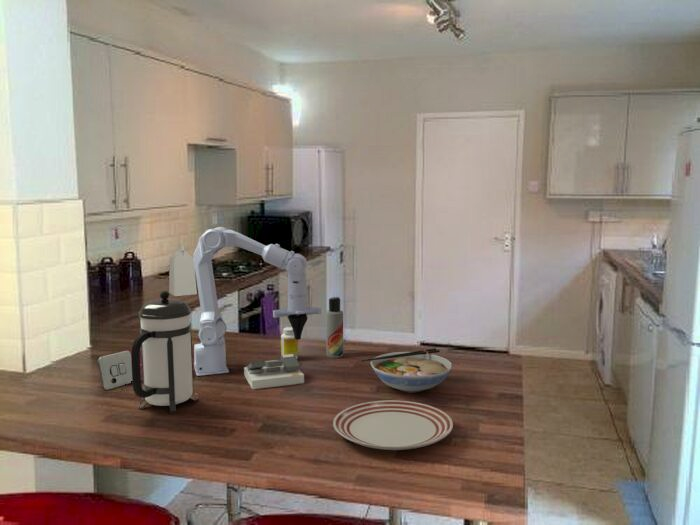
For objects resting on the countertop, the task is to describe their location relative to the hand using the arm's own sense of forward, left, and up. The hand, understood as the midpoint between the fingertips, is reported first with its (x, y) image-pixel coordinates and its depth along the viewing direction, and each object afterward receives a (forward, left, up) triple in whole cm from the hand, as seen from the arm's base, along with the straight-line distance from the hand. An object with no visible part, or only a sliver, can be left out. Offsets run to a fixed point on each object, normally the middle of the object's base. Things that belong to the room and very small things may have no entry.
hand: (297, 338), depth 175 cm
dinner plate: (+9, -50, -11) cm, 52 cm away
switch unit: (-9, -4, -10) cm, 14 cm away
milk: (-23, +148, -11) cm, 150 cm away
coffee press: (-39, -15, -11) cm, 43 cm away
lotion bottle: (+16, +12, -11) cm, 23 cm away
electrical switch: (-52, +7, -11) cm, 54 cm away
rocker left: (-14, -4, -7) cm, 16 cm away
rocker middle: (-9, -4, -7) cm, 12 cm away
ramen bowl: (+26, -25, -11) cm, 38 cm away
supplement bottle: (+1, +14, -11) cm, 18 cm away
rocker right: (-4, -4, -7) cm, 9 cm away
